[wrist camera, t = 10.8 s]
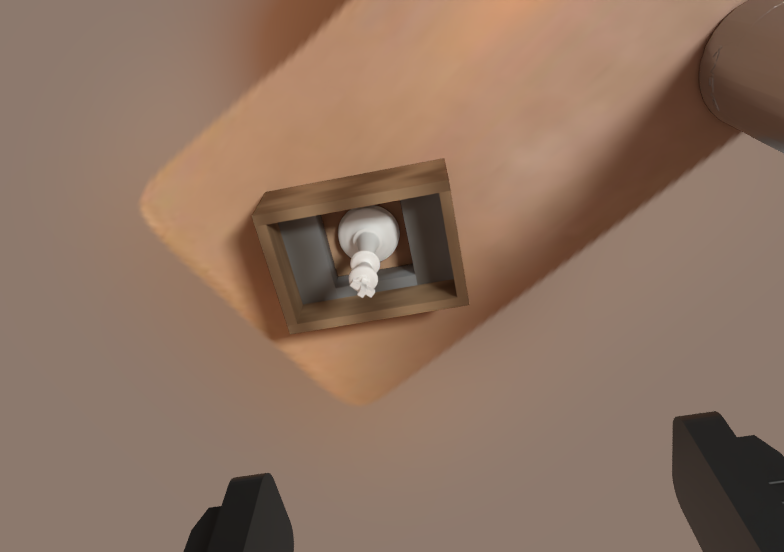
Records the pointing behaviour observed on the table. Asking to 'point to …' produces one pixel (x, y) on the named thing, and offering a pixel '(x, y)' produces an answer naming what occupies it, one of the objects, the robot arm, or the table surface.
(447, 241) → the walnut box
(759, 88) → the robot arm
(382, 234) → the chess piece
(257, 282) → the table surface
